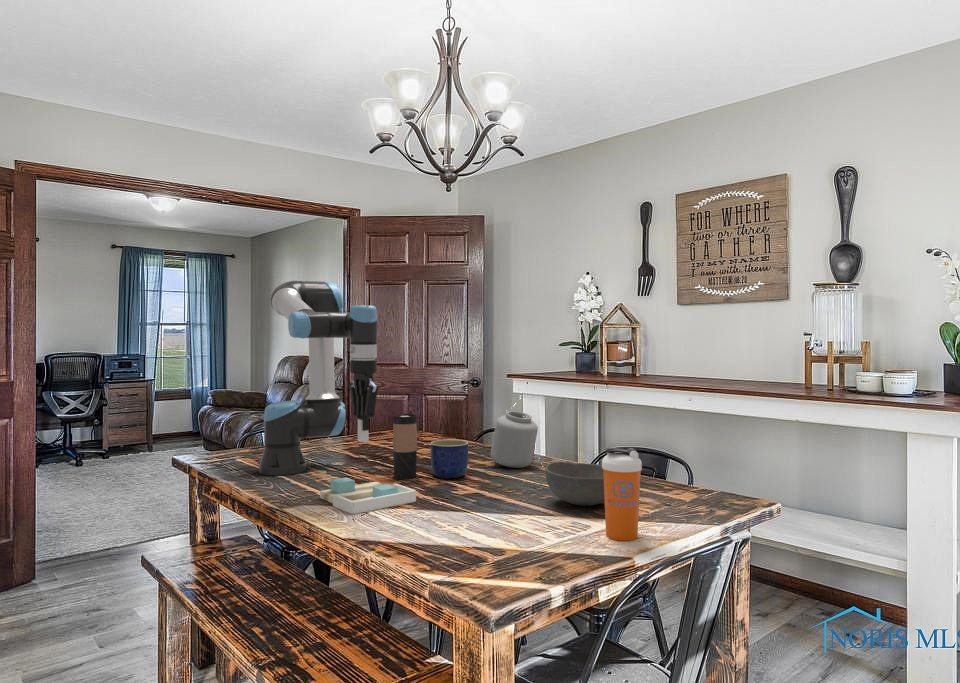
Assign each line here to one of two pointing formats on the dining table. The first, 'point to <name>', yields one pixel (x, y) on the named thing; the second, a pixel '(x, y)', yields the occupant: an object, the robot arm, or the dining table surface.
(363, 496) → the board
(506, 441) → the jar
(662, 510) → the dining table surface
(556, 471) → the bowl
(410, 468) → the travel mug
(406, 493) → the tray
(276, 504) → the dining table surface
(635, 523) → the shaker bottle
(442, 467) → the planter
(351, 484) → the tile
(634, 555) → the dining table surface
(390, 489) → the tile
